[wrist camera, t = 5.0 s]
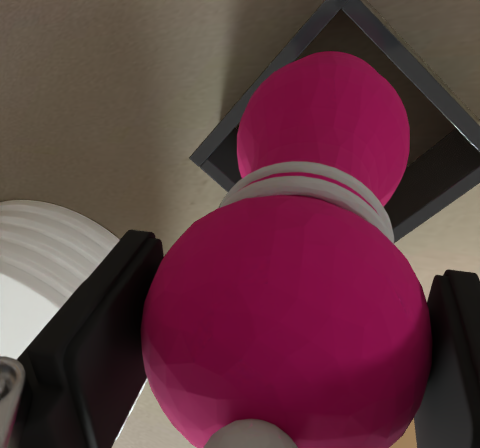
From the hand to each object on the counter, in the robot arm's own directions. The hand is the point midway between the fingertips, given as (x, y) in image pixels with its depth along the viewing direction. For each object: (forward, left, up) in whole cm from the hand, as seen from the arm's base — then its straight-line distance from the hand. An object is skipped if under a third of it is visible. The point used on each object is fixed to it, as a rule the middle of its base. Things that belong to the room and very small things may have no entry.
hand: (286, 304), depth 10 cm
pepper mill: (0, 0, -15) cm, 15 cm away
